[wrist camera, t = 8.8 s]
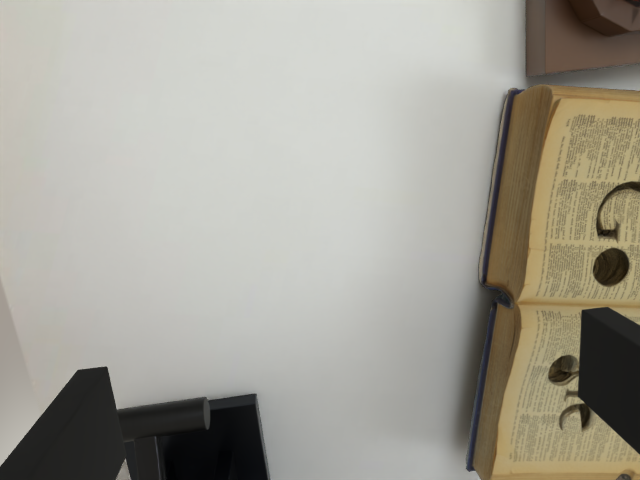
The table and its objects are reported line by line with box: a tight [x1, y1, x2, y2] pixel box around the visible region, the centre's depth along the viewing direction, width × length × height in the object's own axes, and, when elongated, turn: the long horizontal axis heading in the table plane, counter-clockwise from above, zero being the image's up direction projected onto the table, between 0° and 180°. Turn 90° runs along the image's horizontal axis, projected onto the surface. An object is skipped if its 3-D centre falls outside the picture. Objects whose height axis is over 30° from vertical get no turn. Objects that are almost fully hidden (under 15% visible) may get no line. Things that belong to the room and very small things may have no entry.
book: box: [466, 84, 640, 480], centre depth 30 cm, size 25×17×6 cm
